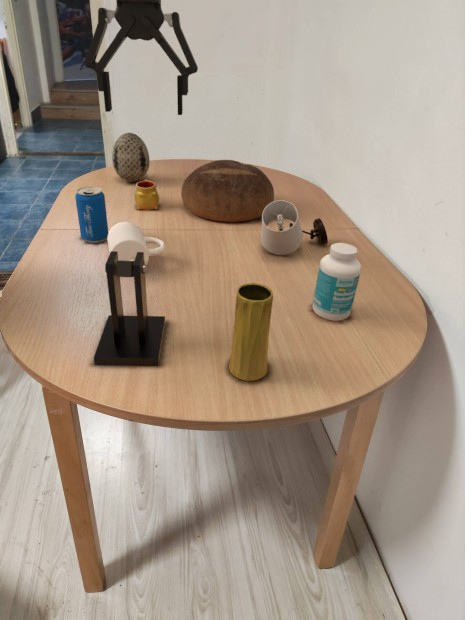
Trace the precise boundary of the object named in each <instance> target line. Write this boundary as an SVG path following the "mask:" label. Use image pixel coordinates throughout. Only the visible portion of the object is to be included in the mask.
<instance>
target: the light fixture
mask: <svg viewBox="0 0 465 620" xmlns="http://www.w3.org/2000/svg"><path fill="white" fill-rule="evenodd" d="M299 217H300V216H299V211H298V209H297V207H296V205H295V204H293V203H292V202H290V201H288V200H285V199H279V200H273V202H271V203H270V204H268V205H267V206H266V207H265V209H264V211H263V213H262V216H261V232H260V242H261V245H262V247H263V248H264V249H265V250H266V251H267V252H268V253H270V254H272V255H275V256H286V255H290V254H292V253H294V252H295V251H297V250H298V249H299V248H300V246H301V244H302V243H303V239H304V237H303V236H304V234H306V235H309V239H310V240H314V238H316V239H317V242H318V243H319V244H320V245H326V244H328V242H329V239H328V234H327V230H326V227H325V224H324V222H323V220H322V219H321V218H320V217H319V218H318V217H317V218H315V219H314V220H313V221H312V226H313V227H312V228H313V229H312V228H311V229H310V232H309V231H305V230H303V229H302V226H301V222H300V218H299ZM285 220H287V221H289V227H288V228H286V229H284V228H285V226H284V222H285ZM274 221H276V222H275V223H274V225H273V226H272V227H271V228H270V227H268V225H269V224H270V223H272V222H274ZM276 224H277V226H278V230H275V229H273V228H274V227H275V225H276Z"/></svg>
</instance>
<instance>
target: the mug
mask: <svg viewBox="0 0 465 620" xmlns="http://www.w3.org/2000/svg"><path fill="white" fill-rule="evenodd" d="M106 240H107V245H108V256H109V255H110V253H111V251H117V252H118V261H119V260H126V261H128V259H129V258H131V257H133V256H136V254H137V252H144V260H145V262H146V264H147V265H148V263H149V261H150V257H152V256H158V255H161V254H163V253H164V252H165V251H166V244H165V242H164V241H163V240H162V239H160V238H156V237H153V236H145V234H144V232H143V230H142V229H141V227H140V226H138V225H137V224H136V223H133V222H131V221H121V222H118V223H116V224H114V225H113V226H111V228H110V229H109V230H108V237H107V238H106ZM147 244H155V245H158V246H157V247H152V248H148V246H147Z"/></svg>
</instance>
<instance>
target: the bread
mask: <svg viewBox="0 0 465 620" xmlns="http://www.w3.org/2000/svg"><path fill="white" fill-rule="evenodd" d="M274 189H275V188H274V186H273V184H272V182H271V180H270V179H269V177H268V176H267V175H266V174H265V173H264V172H263V171H262V169H260V168H258V167H256V166H254V165H252V164H248V163H247V164H246V163H242V162H240V161H237V160H233V159H219V160H213V161H211V162H207V163H205V164H202V165H200V166H199V167H196V168H195V169H194V170H193V171H192V172H190V173H189V174H188V175H187V177H185V179H184V180H183V183H182V185H181V190H180V191H181V192H180V194H181V200H182V203H183V204H184V206H185V207H186V208H187V210H189V211H190V212H191V213H192V214H194V215H196V216H198V217H199V218H203V219H205V220H211V221H217V222H225V223H226V222H227V223H230V222H231V223H236V222H245V221H251V220H256V219H259V218H262V213H263V211H264V209H265V207H266V206H267V205H268V204H270V203H271V202H274V201H275V190H274Z"/></svg>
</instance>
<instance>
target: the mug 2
mask: <svg viewBox="0 0 465 620" xmlns="http://www.w3.org/2000/svg"><path fill="white" fill-rule="evenodd" d="M157 187H158V186H157V184H156V183H155V182H154V181H152V180H148V179H144V180H139V181H137V182H136V184H135V190H134V203H135V205H136V207H137V210H147V211H150V210H158V206H159V204H160V195H159V192H158V189H157Z"/></svg>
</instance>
